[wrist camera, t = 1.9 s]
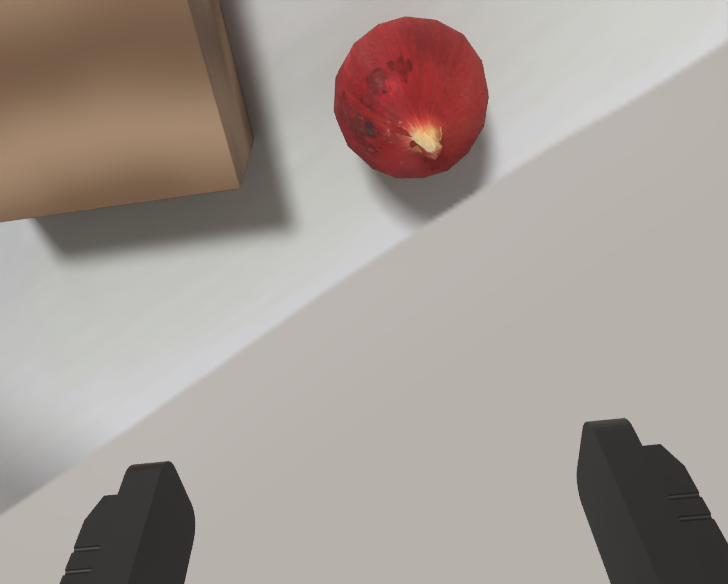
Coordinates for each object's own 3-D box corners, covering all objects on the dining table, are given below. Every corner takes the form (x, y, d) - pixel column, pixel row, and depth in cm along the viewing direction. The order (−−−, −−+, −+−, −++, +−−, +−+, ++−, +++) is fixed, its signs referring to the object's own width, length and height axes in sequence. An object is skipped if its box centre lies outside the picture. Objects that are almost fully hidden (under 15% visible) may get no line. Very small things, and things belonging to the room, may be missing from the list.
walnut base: (-164, -136, 22) (-279, -131, 18) (169, -194, 21) (130, -203, 17) (0, 175, 29) (-55, 230, 25) (253, 138, 28) (239, 188, 24)
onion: (332, 132, 28) (331, 218, 22) (337, -6, 25) (337, 47, 18) (458, 138, 28) (494, 224, 22) (480, 3, 25) (530, 57, 19)
